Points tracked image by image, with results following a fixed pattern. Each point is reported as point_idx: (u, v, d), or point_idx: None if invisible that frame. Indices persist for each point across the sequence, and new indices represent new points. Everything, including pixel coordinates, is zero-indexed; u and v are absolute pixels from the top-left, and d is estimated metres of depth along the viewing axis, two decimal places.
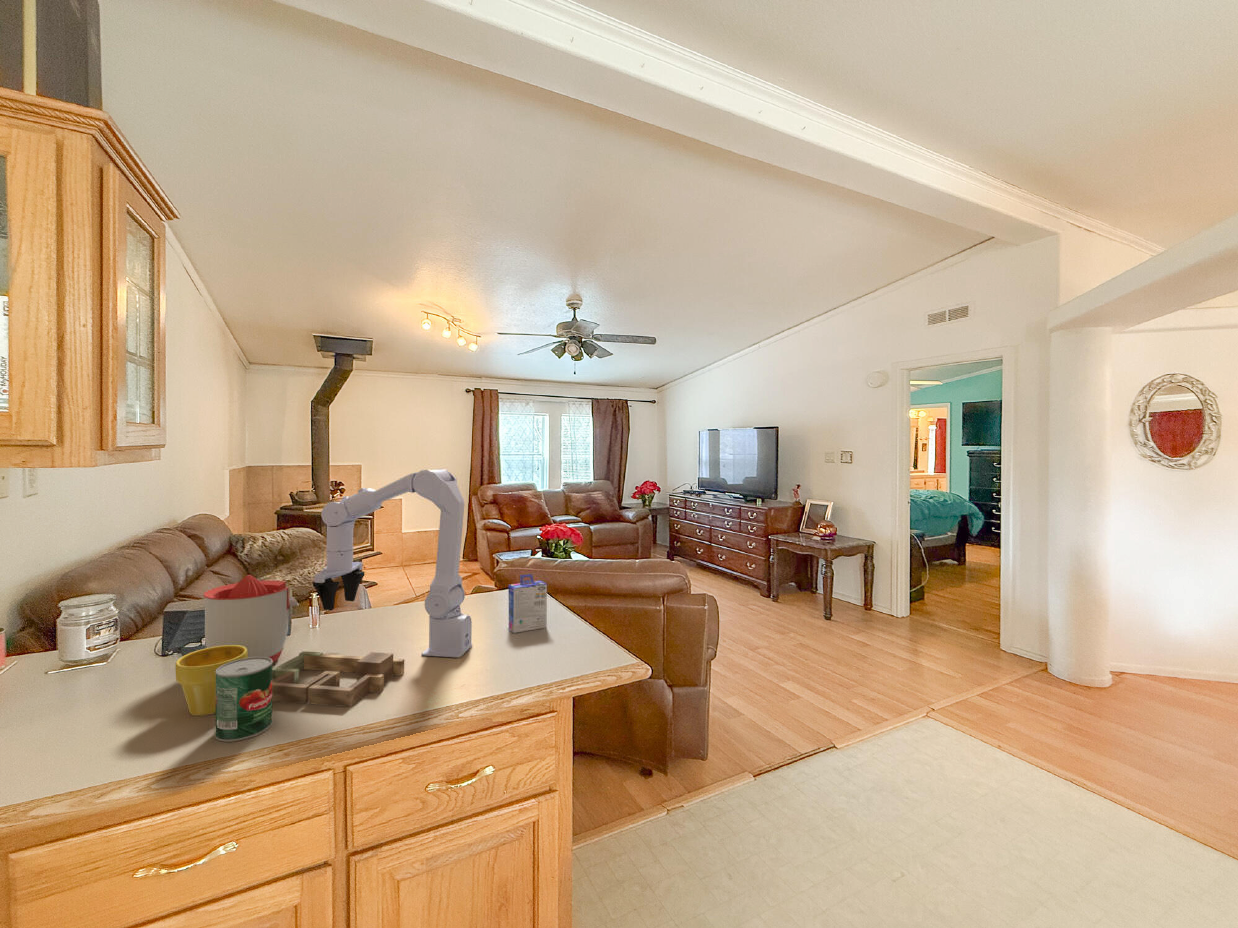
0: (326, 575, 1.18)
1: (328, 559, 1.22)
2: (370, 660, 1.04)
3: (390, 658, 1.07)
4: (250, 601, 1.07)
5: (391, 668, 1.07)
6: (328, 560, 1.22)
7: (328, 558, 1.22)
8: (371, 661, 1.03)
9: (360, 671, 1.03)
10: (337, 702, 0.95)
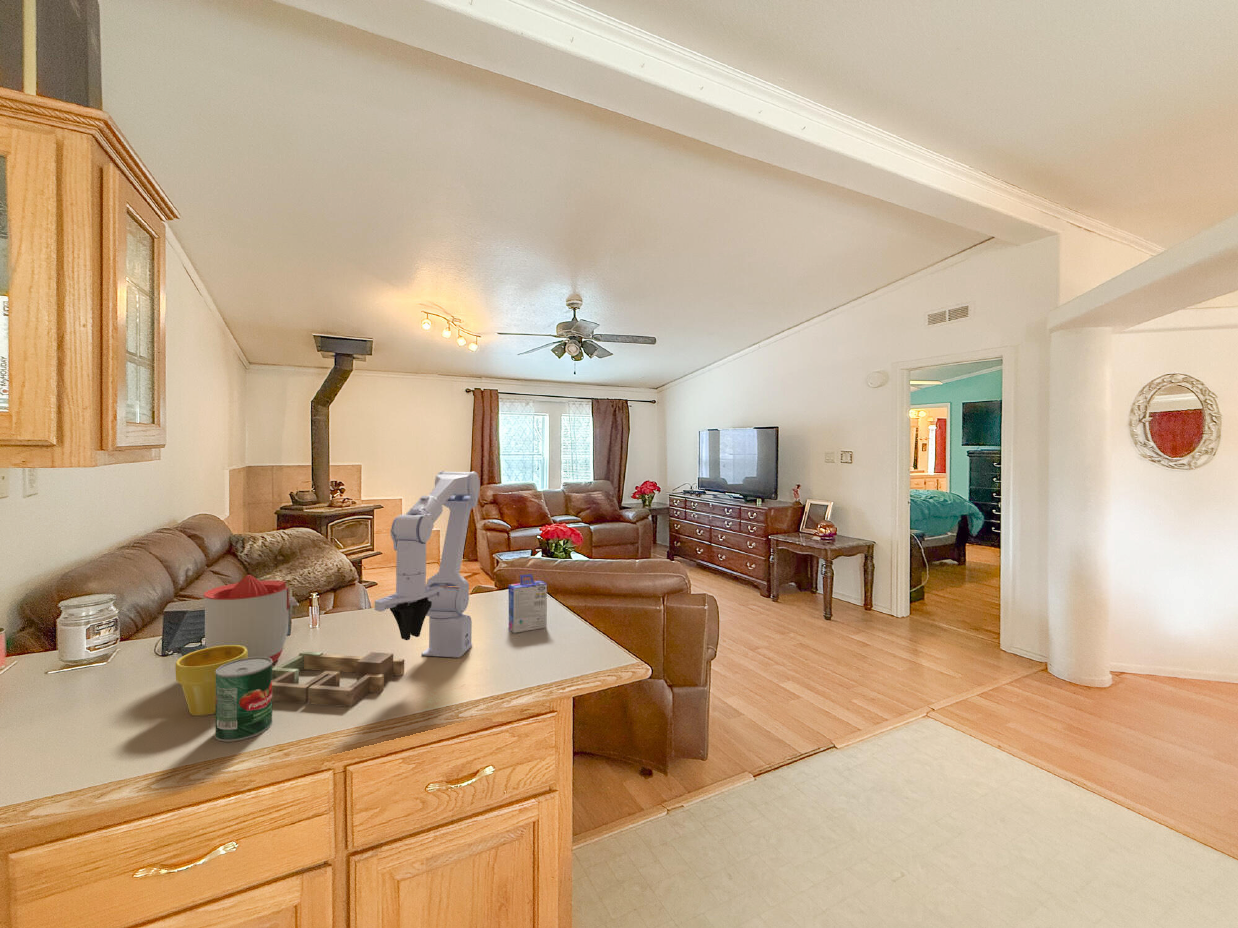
0: (386, 603, 0.99)
1: (396, 582, 1.03)
2: (370, 660, 1.04)
3: (390, 658, 1.07)
4: (250, 601, 1.07)
5: (391, 668, 1.07)
6: (396, 583, 1.03)
7: (396, 581, 1.03)
8: (371, 661, 1.03)
9: (360, 671, 1.03)
10: (337, 702, 0.95)
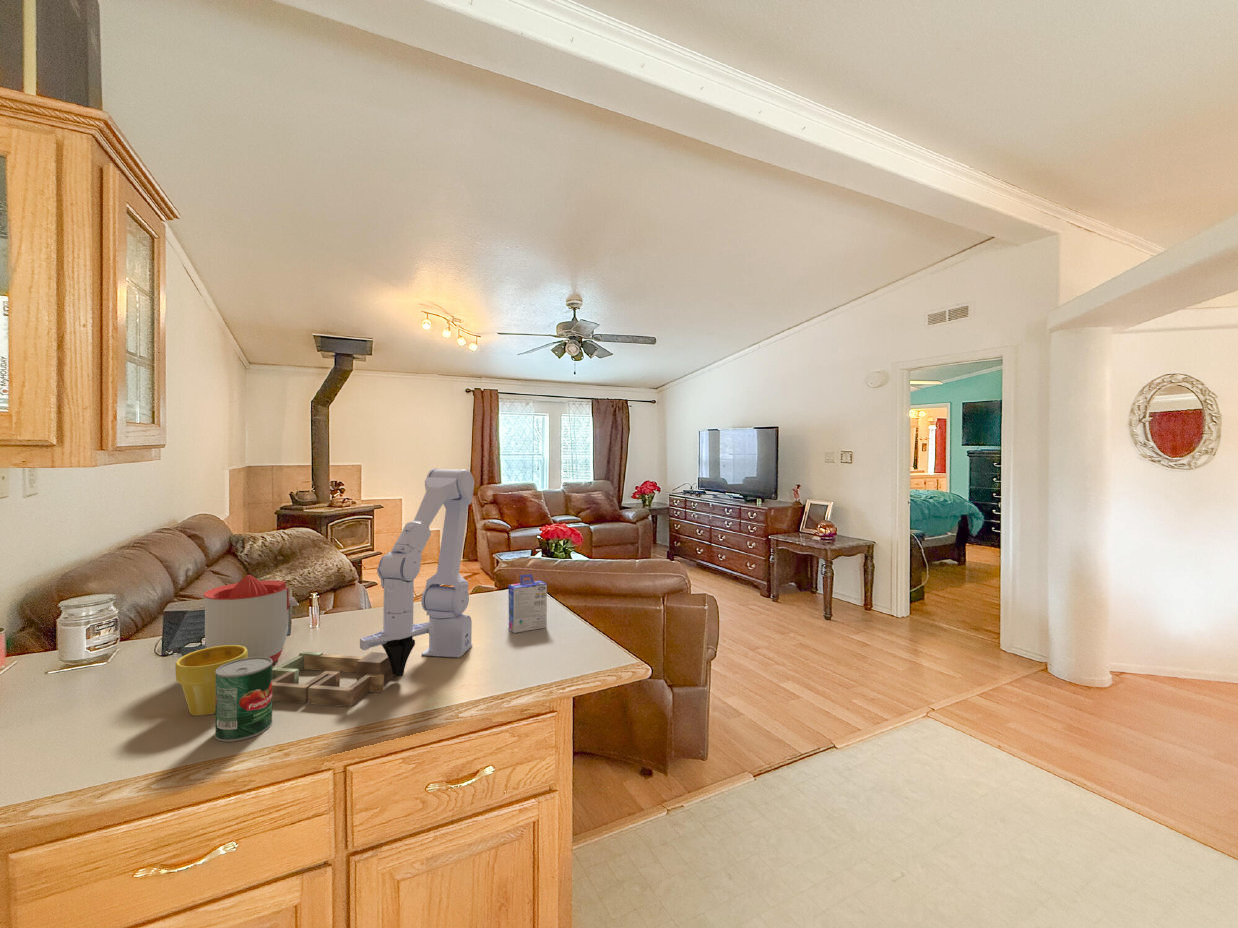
0: (370, 641, 1.00)
1: (383, 620, 1.04)
2: (370, 659, 1.04)
3: None
4: (250, 601, 1.07)
5: (391, 668, 1.07)
6: (383, 621, 1.04)
7: (383, 619, 1.04)
8: (371, 661, 1.03)
9: (360, 671, 1.03)
10: (337, 702, 0.95)
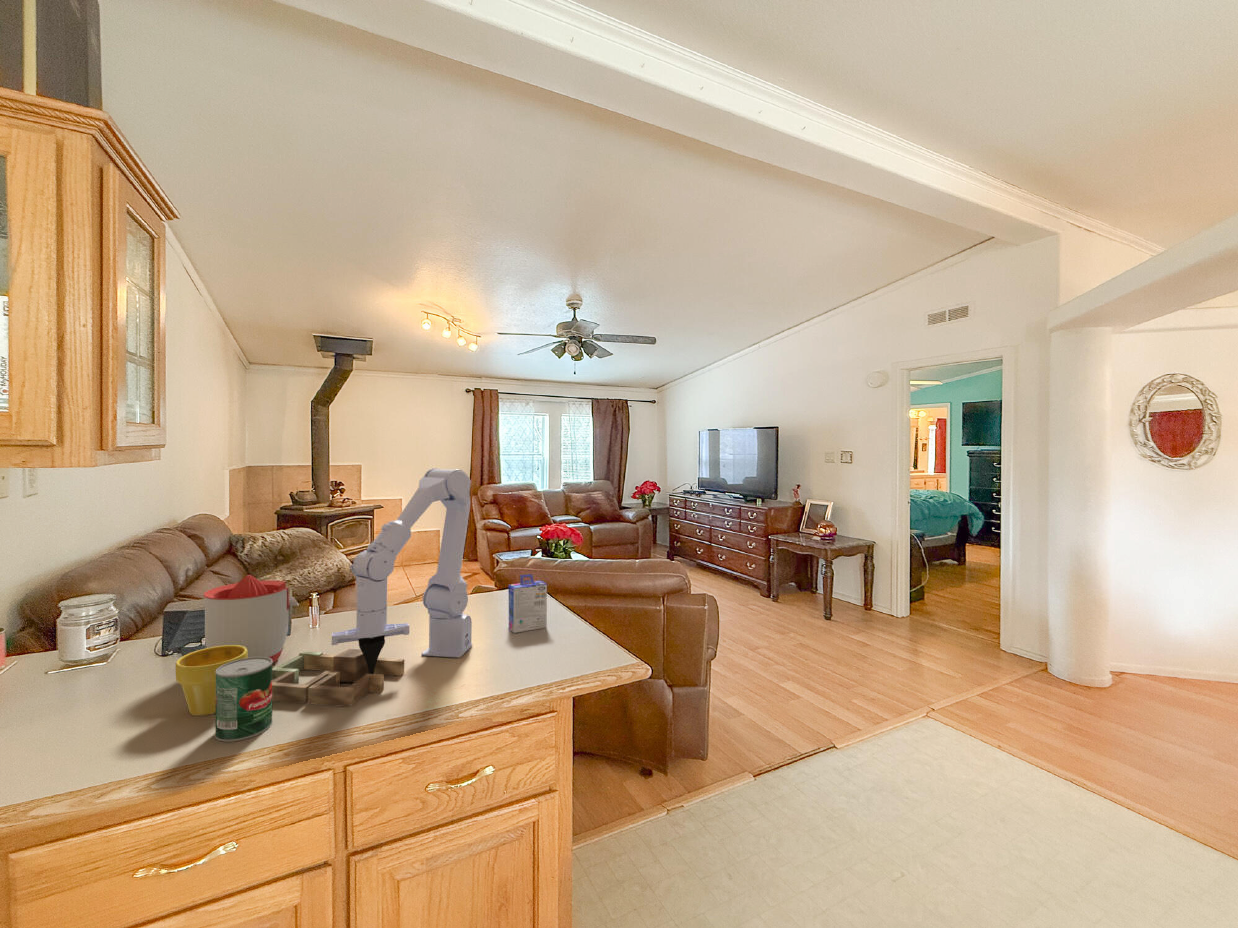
0: (339, 637, 1.02)
1: None
2: (347, 655, 1.05)
3: None
4: (250, 601, 1.07)
5: None
6: None
7: None
8: (347, 656, 1.04)
9: (336, 666, 1.04)
10: (337, 702, 0.95)
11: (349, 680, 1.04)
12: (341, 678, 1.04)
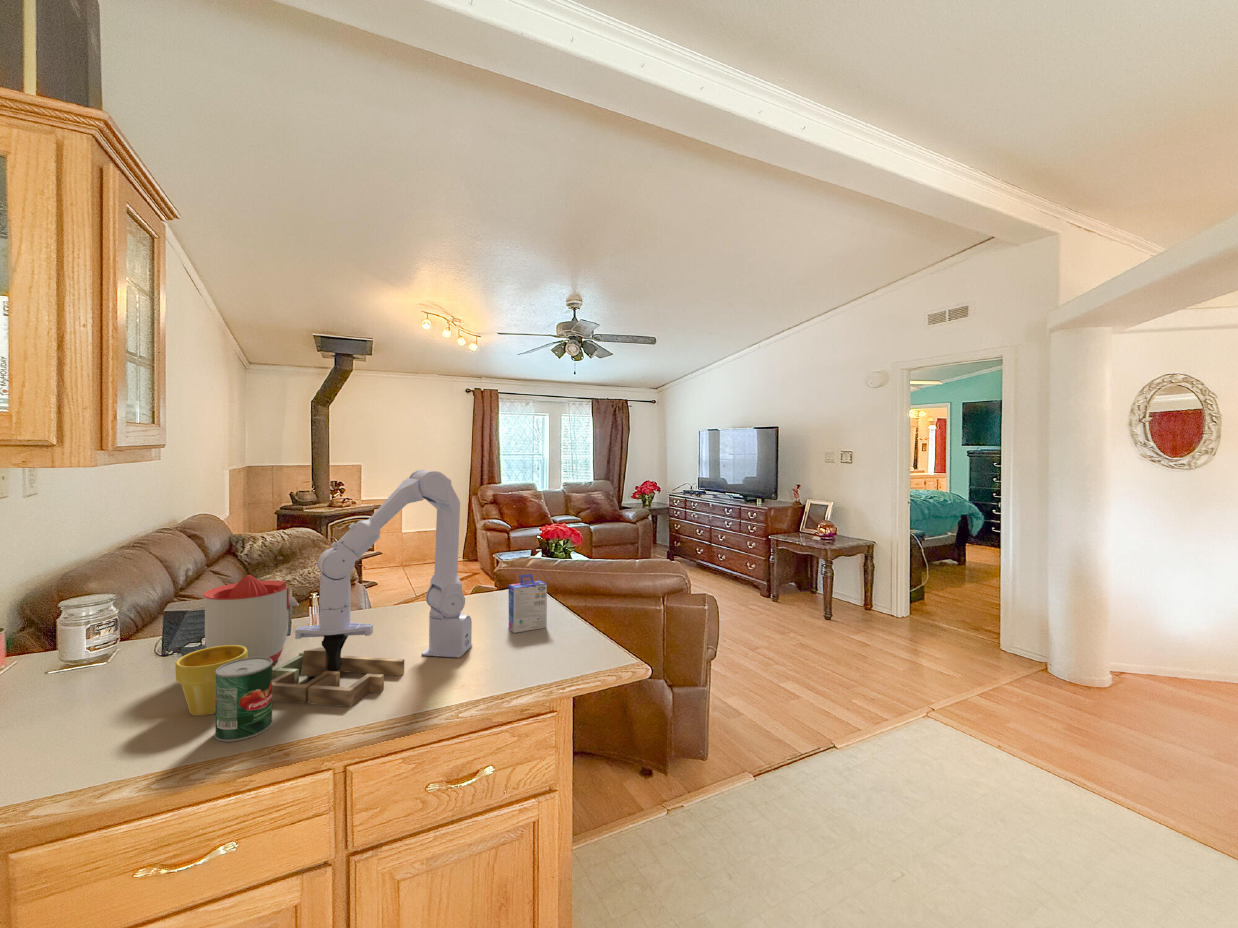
0: (301, 631, 1.04)
1: None
2: (317, 649, 1.06)
3: None
4: (250, 601, 1.07)
5: None
6: None
7: None
8: (318, 650, 1.06)
9: (306, 660, 1.05)
10: (337, 702, 0.95)
11: (317, 674, 1.04)
12: (309, 673, 1.04)
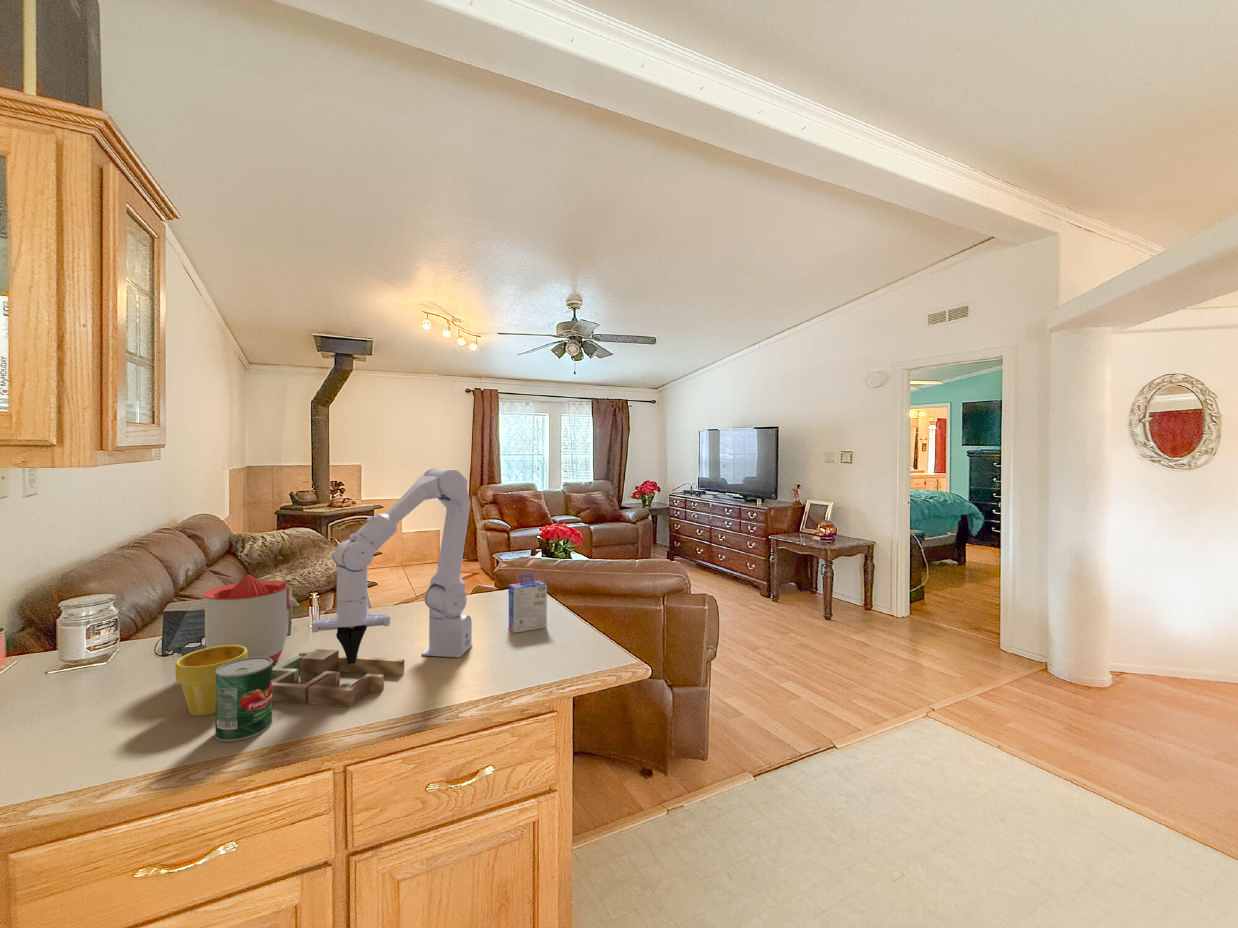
0: (318, 625, 1.03)
1: None
2: (314, 656, 1.05)
3: (335, 654, 1.08)
4: (250, 601, 1.07)
5: (336, 665, 1.08)
6: None
7: None
8: (314, 658, 1.04)
9: (303, 668, 1.04)
10: (337, 702, 0.95)
11: None
12: (308, 679, 1.04)
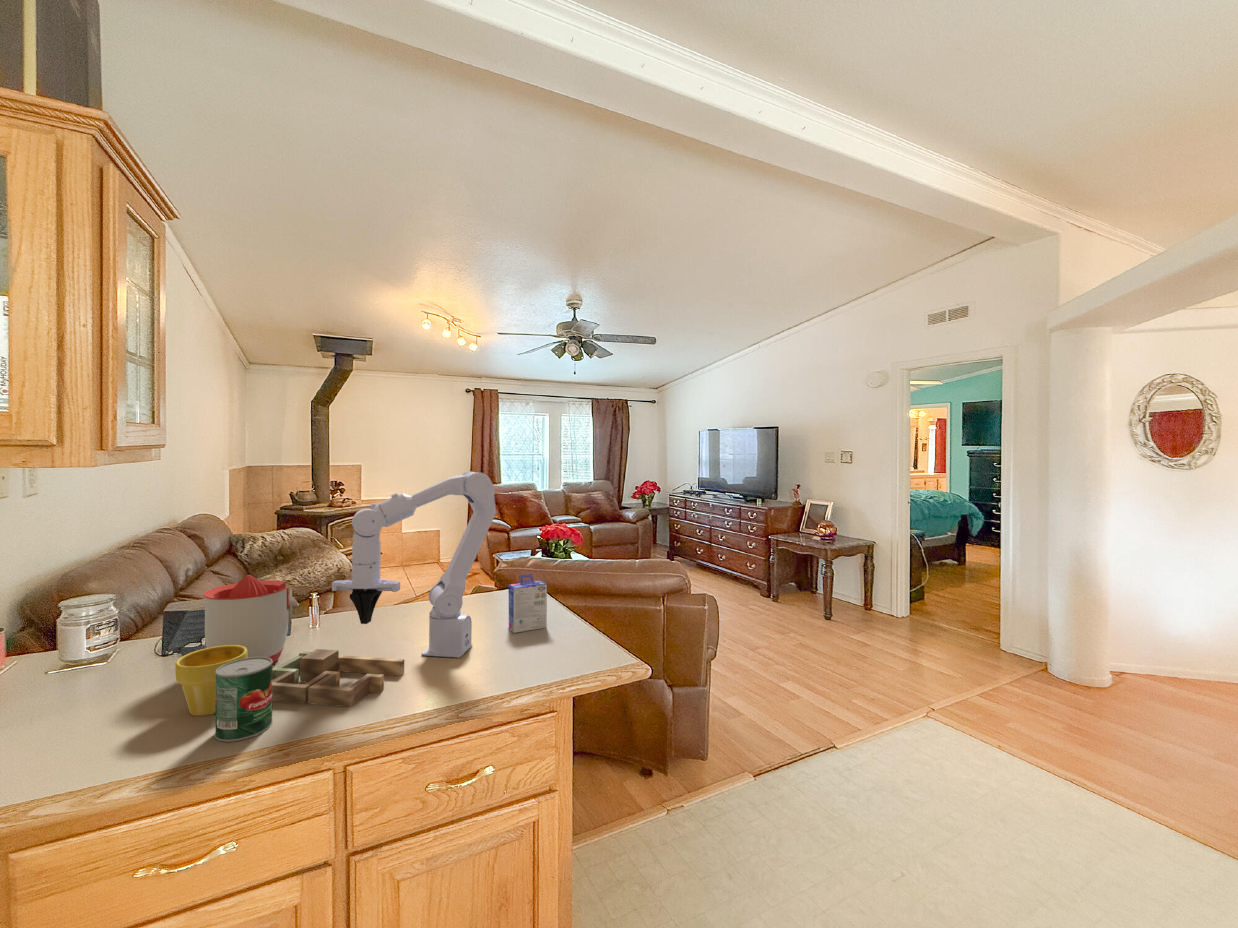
0: (337, 584, 1.12)
1: None
2: (313, 656, 1.05)
3: (335, 654, 1.08)
4: (250, 601, 1.07)
5: (336, 665, 1.08)
6: None
7: None
8: (314, 658, 1.04)
9: (303, 668, 1.04)
10: (337, 702, 0.95)
11: None
12: (308, 679, 1.04)
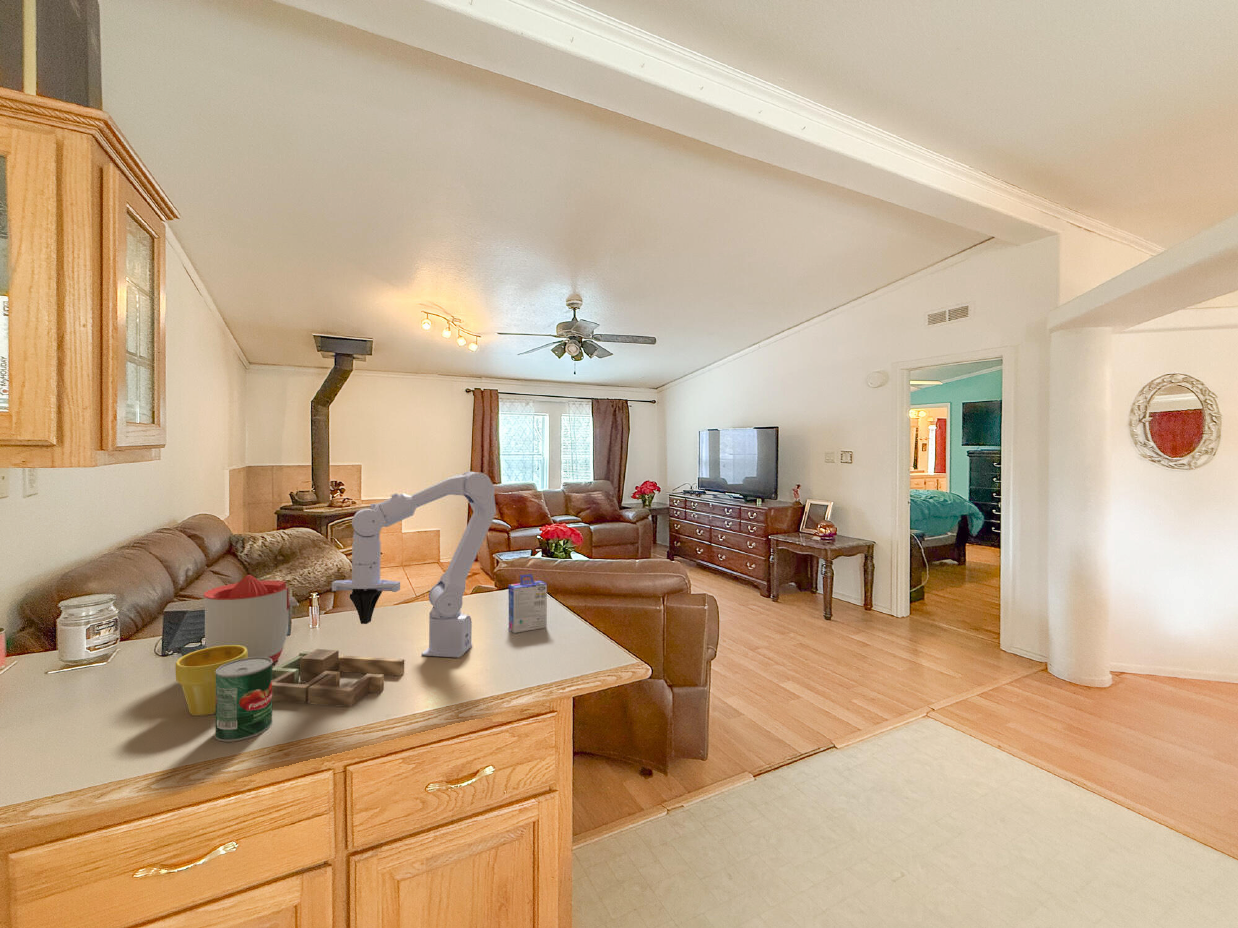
0: (337, 584, 1.12)
1: None
2: (313, 656, 1.05)
3: (335, 654, 1.08)
4: (250, 601, 1.07)
5: (336, 665, 1.08)
6: None
7: None
8: (314, 658, 1.04)
9: (303, 668, 1.04)
10: (337, 702, 0.95)
11: None
12: (308, 679, 1.04)
